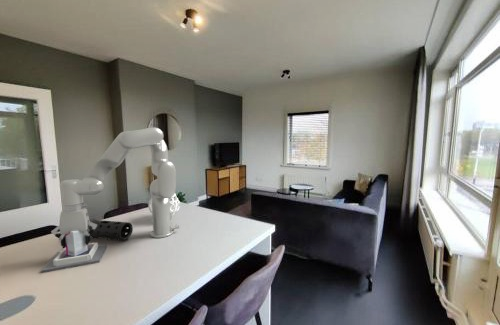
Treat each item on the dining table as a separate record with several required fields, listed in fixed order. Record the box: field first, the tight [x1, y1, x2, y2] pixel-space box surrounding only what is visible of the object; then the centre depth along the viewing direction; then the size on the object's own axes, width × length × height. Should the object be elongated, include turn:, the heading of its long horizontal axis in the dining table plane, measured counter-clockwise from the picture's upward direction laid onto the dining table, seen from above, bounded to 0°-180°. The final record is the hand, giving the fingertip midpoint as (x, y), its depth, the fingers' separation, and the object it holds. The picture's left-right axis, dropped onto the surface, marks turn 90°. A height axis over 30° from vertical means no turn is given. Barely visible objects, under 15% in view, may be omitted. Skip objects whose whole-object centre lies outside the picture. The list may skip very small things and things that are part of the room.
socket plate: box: [40, 242, 108, 274], centre depth 99 cm, size 20×16×4 cm
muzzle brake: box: [88, 218, 134, 242], centre depth 119 cm, size 10×28×10 cm, turn 78°
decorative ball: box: [147, 192, 181, 218], centre depth 148 cm, size 20×20×19 cm
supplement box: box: [65, 231, 88, 257], centre depth 99 cm, size 6×6×12 cm
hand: (76, 245), depth 99 cm, fingers closed on supplement box, 7 cm apart
